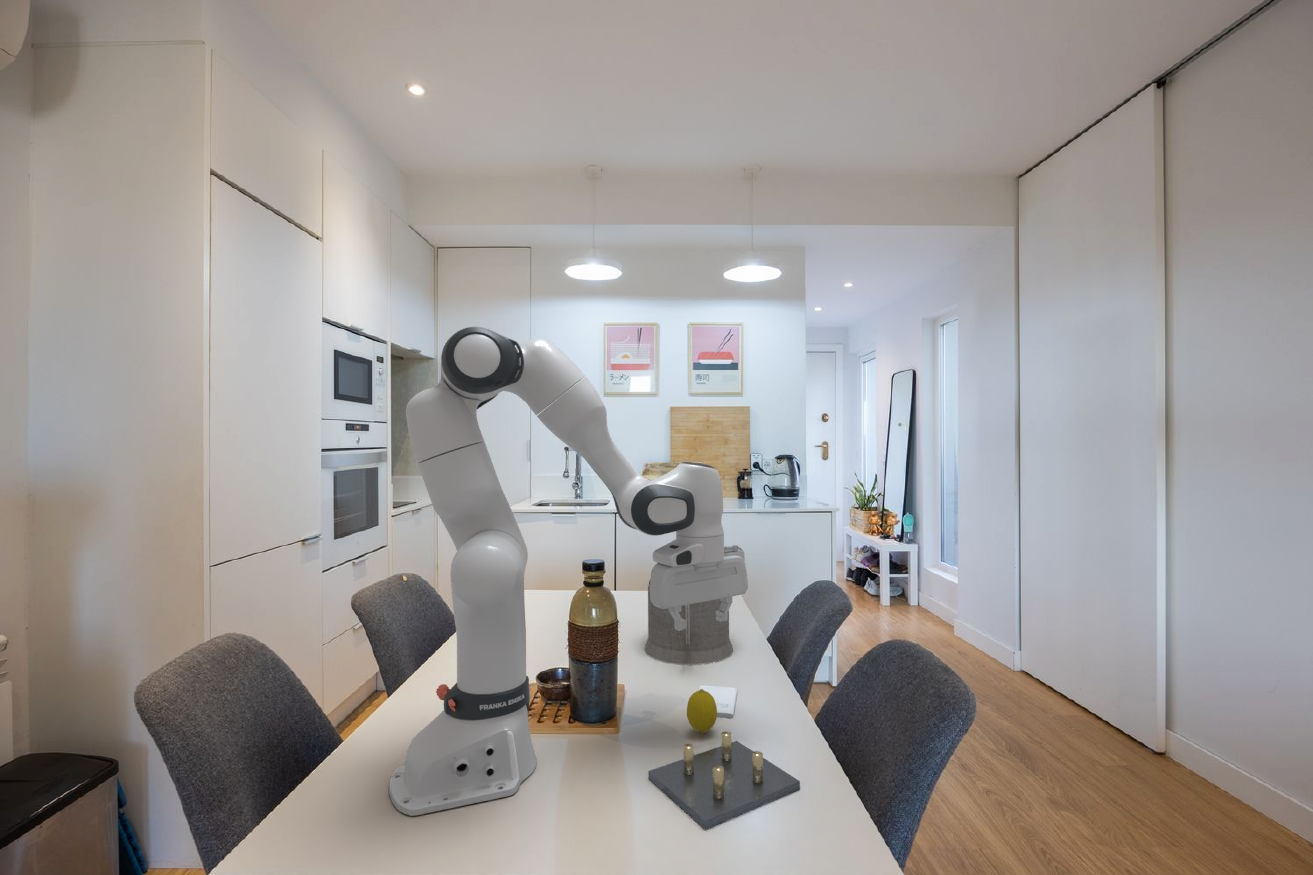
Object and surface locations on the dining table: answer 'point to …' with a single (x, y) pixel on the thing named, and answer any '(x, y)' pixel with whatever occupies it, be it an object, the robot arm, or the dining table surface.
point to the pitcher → (688, 634)
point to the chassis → (722, 782)
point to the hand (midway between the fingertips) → (701, 625)
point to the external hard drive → (723, 699)
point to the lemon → (701, 711)
